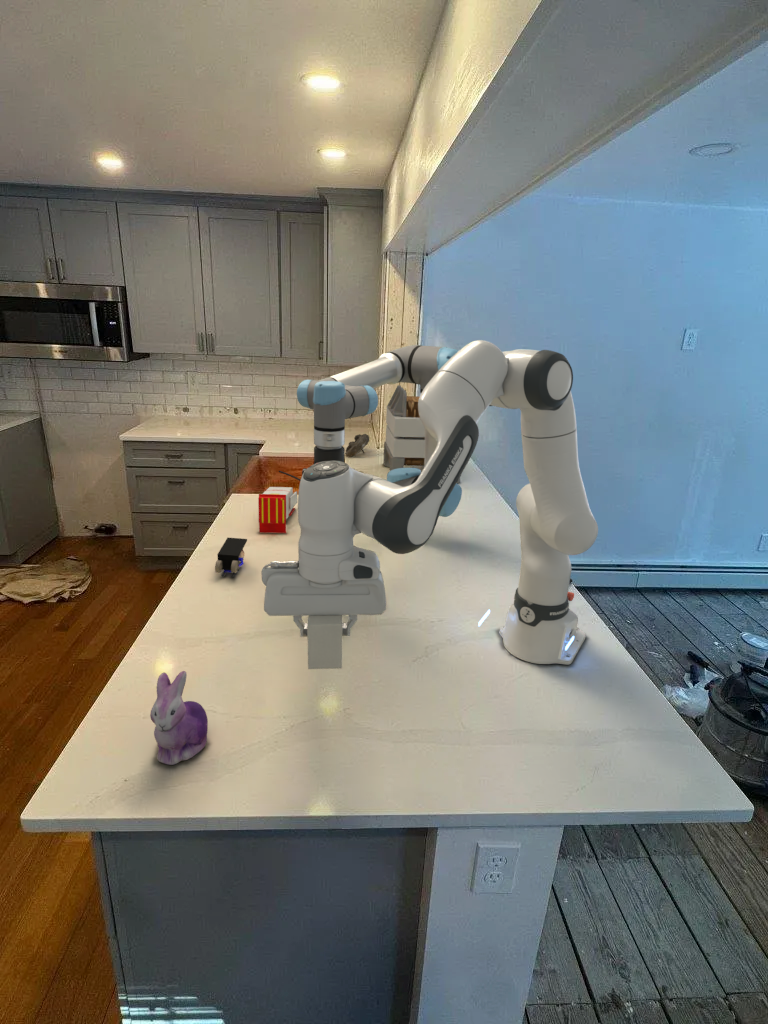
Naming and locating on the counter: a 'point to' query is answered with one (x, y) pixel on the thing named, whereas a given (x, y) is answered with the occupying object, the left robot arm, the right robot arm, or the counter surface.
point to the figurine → (177, 722)
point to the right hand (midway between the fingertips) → (325, 634)
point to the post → (324, 642)
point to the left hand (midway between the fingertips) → (329, 532)
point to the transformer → (404, 432)
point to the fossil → (357, 445)
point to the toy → (276, 509)
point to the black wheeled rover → (230, 556)
